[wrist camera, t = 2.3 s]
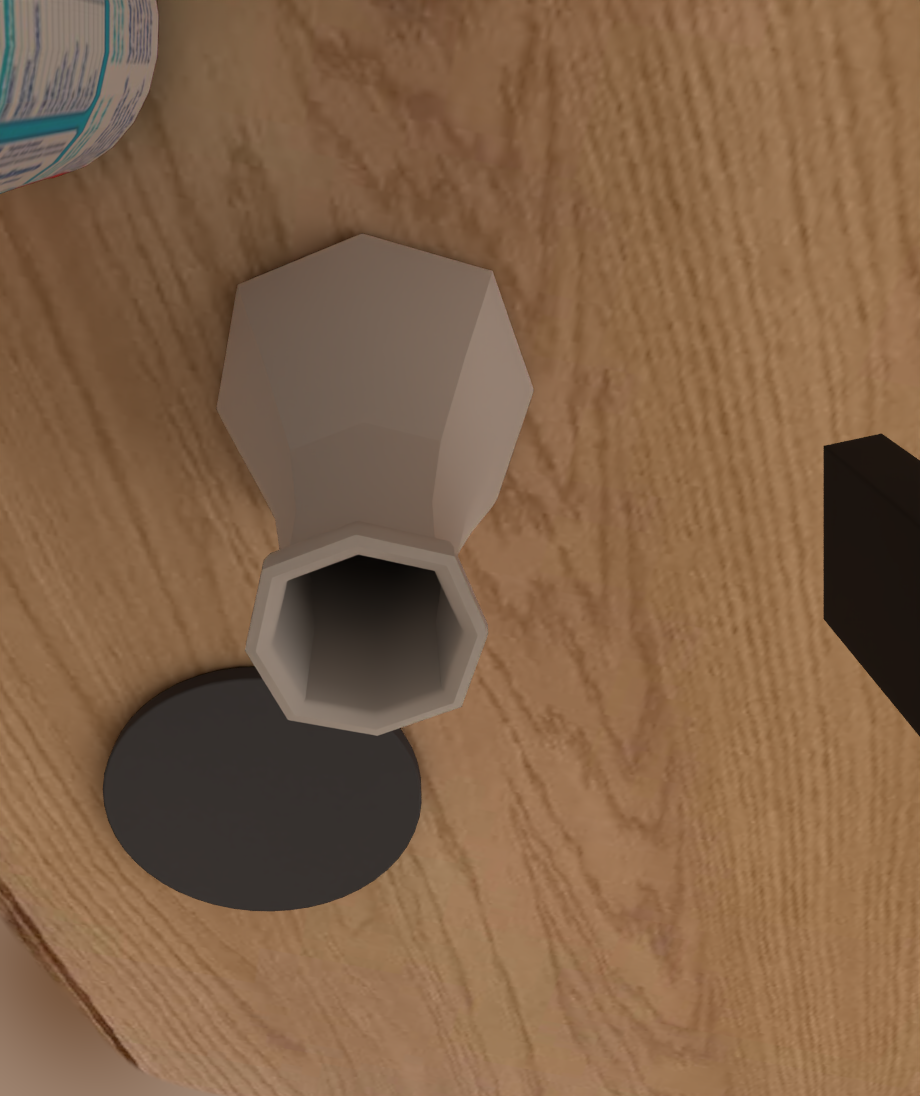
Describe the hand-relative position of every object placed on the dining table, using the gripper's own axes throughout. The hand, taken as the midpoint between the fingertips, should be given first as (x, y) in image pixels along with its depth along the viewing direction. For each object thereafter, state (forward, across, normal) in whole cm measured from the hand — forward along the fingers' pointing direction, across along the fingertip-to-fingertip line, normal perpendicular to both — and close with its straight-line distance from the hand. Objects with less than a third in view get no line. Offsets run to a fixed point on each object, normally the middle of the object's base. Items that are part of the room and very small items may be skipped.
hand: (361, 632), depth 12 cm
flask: (+10, 0, 0) cm, 10 cm away
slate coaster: (+10, -6, -11) cm, 16 cm away
